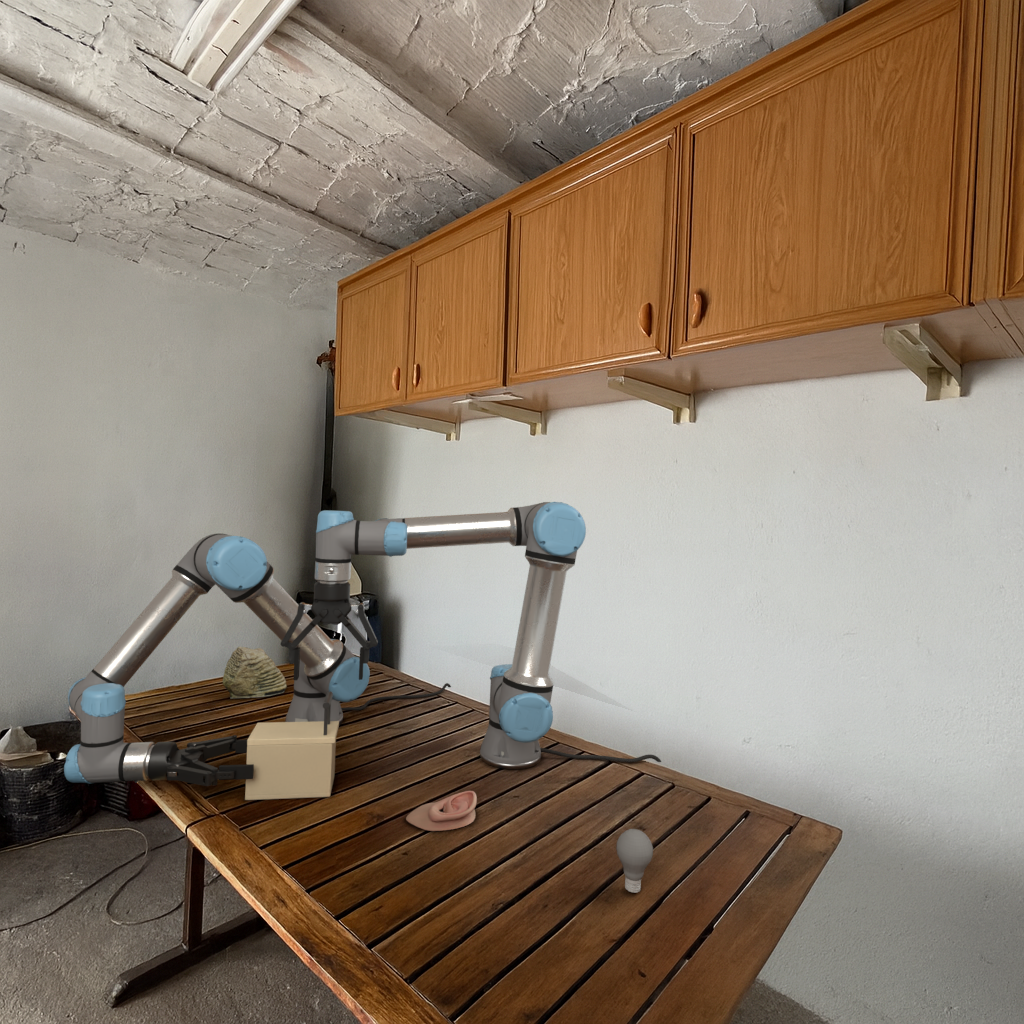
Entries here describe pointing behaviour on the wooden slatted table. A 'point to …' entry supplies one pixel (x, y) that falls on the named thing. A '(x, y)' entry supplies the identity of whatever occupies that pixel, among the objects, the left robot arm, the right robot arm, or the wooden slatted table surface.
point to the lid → (297, 730)
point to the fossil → (252, 674)
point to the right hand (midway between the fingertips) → (328, 678)
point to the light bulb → (634, 857)
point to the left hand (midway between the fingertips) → (260, 757)
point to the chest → (290, 771)
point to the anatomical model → (445, 813)
